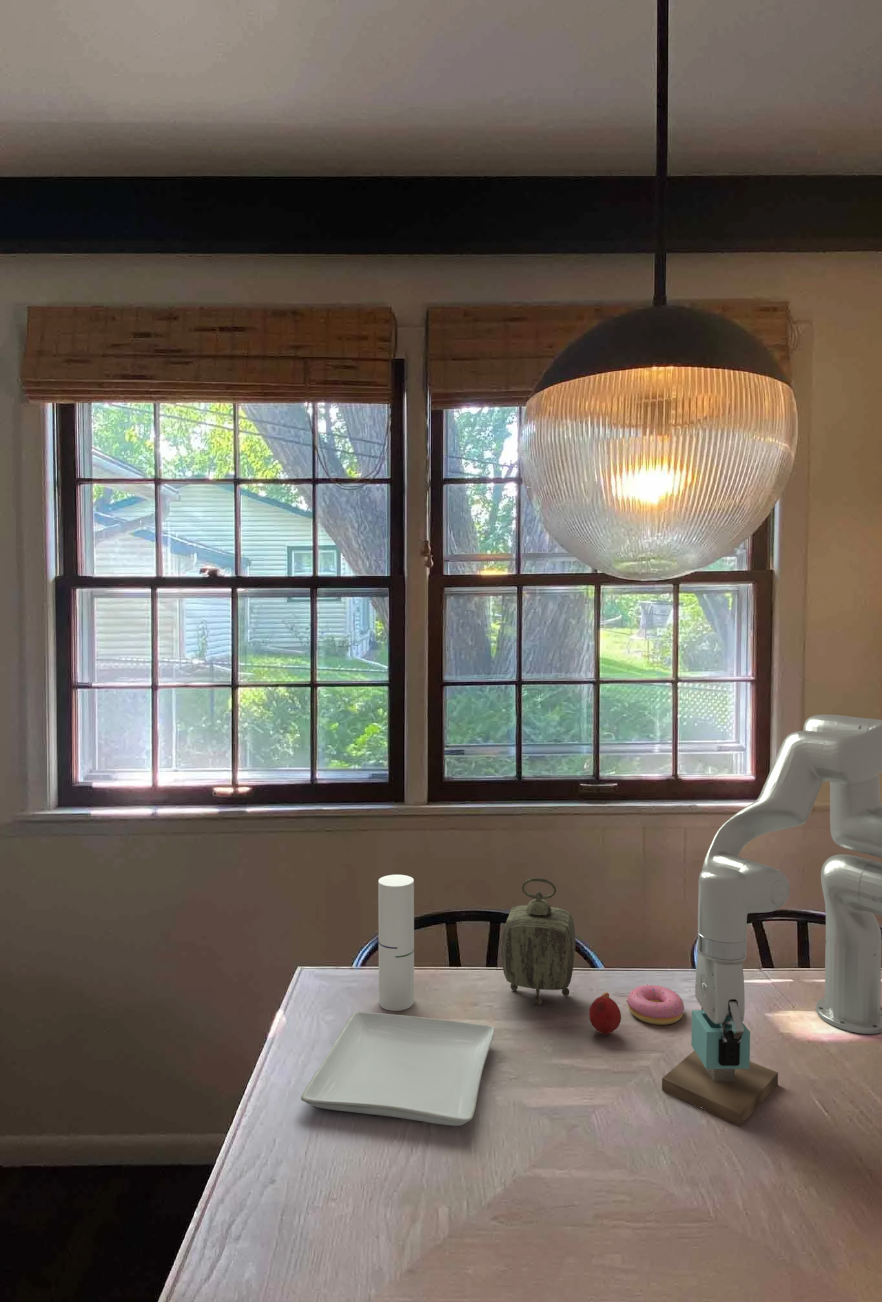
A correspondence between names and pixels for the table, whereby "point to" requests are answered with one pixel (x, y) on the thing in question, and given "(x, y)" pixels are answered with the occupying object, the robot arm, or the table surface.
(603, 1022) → the onion
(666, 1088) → the post board
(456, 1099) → the square plate
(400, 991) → the cylindrical container
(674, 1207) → the table surface
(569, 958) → the tabletop clock
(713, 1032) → the collar
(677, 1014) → the doughnut
